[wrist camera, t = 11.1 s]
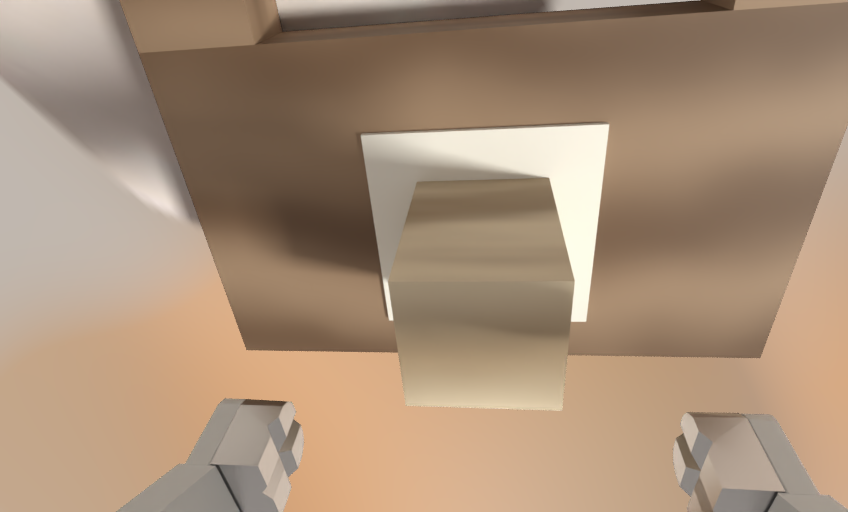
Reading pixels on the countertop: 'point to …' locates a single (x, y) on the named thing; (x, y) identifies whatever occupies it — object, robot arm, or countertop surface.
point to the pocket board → (508, 156)
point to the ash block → (483, 296)
